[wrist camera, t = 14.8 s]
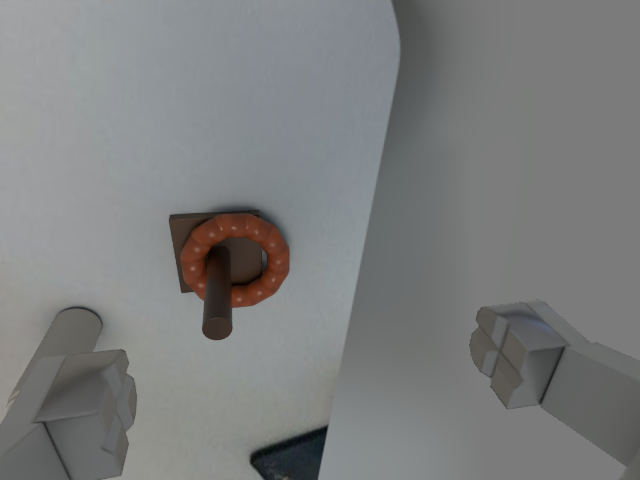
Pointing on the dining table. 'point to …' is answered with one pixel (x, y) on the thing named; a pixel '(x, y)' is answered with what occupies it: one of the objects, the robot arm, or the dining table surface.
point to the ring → (231, 228)
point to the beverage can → (64, 340)
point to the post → (218, 269)
